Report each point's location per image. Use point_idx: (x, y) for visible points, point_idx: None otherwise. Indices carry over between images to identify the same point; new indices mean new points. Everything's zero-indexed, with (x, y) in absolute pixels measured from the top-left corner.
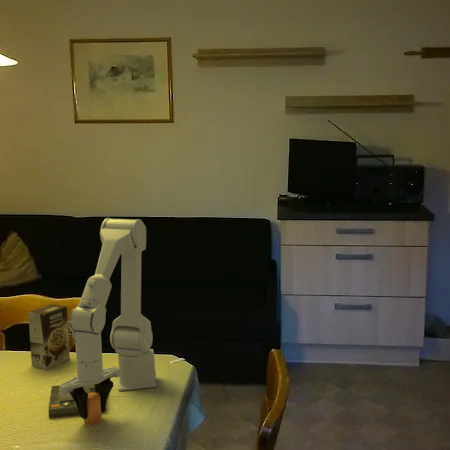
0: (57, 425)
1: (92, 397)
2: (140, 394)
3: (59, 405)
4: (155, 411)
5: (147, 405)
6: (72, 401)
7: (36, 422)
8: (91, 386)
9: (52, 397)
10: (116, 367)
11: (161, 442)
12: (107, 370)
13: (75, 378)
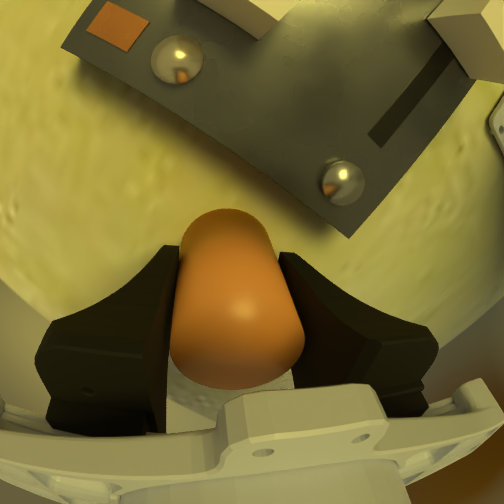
0: (71, 163)
1: (232, 364)
2: (489, 212)
3: (140, 35)
4: None
5: (433, 294)
6: (240, 49)
7: (21, 63)
8: (440, 26)
9: None
10: (490, 435)
11: None
12: (438, 461)
13: (108, 468)
